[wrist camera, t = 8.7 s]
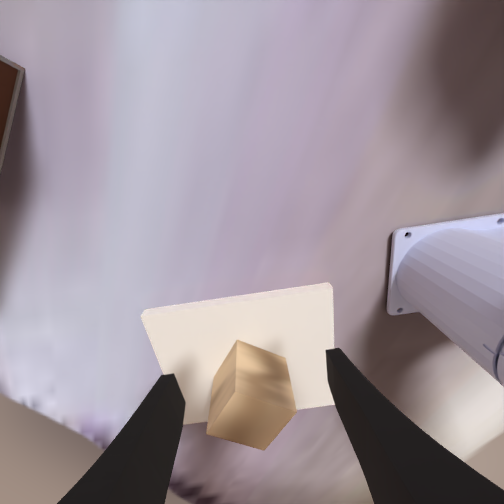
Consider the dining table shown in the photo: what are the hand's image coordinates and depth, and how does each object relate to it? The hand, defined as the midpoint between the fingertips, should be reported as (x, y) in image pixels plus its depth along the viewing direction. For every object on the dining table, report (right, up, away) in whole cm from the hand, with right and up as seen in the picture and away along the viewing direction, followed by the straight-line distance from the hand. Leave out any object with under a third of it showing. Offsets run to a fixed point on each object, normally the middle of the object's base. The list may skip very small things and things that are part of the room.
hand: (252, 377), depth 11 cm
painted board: (0, -4, +12) cm, 13 cm away
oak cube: (0, -5, +11) cm, 12 cm away
